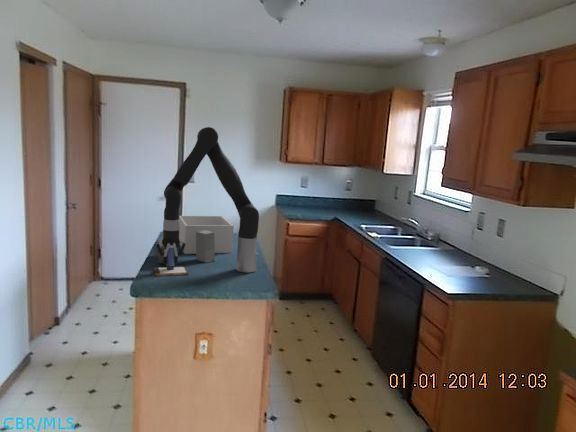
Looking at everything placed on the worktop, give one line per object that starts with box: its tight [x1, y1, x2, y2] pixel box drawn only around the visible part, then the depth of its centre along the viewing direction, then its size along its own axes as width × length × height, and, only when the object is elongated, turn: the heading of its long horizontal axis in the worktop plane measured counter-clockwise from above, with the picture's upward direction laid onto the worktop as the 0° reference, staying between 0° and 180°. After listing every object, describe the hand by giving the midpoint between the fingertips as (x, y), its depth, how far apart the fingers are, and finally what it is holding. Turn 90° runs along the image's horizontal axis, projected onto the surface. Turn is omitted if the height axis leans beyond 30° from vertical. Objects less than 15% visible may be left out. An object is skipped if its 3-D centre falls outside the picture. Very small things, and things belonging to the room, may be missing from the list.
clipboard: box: [153, 266, 190, 277], centre depth 213 cm, size 15×11×2 cm
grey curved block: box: [157, 234, 178, 265], centre depth 232 cm, size 25×8×11 cm, turn 10°
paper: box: [158, 266, 186, 274], centre depth 213 cm, size 12×9×1 cm
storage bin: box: [179, 215, 235, 255], centre depth 266 cm, size 27×31×16 cm
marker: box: [165, 245, 176, 270], centre depth 213 cm, size 4×4×12 cm
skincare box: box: [195, 230, 216, 263], centre depth 237 cm, size 8×7×16 cm
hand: (170, 263), depth 214 cm, fingers closed on marker, 3 cm apart
